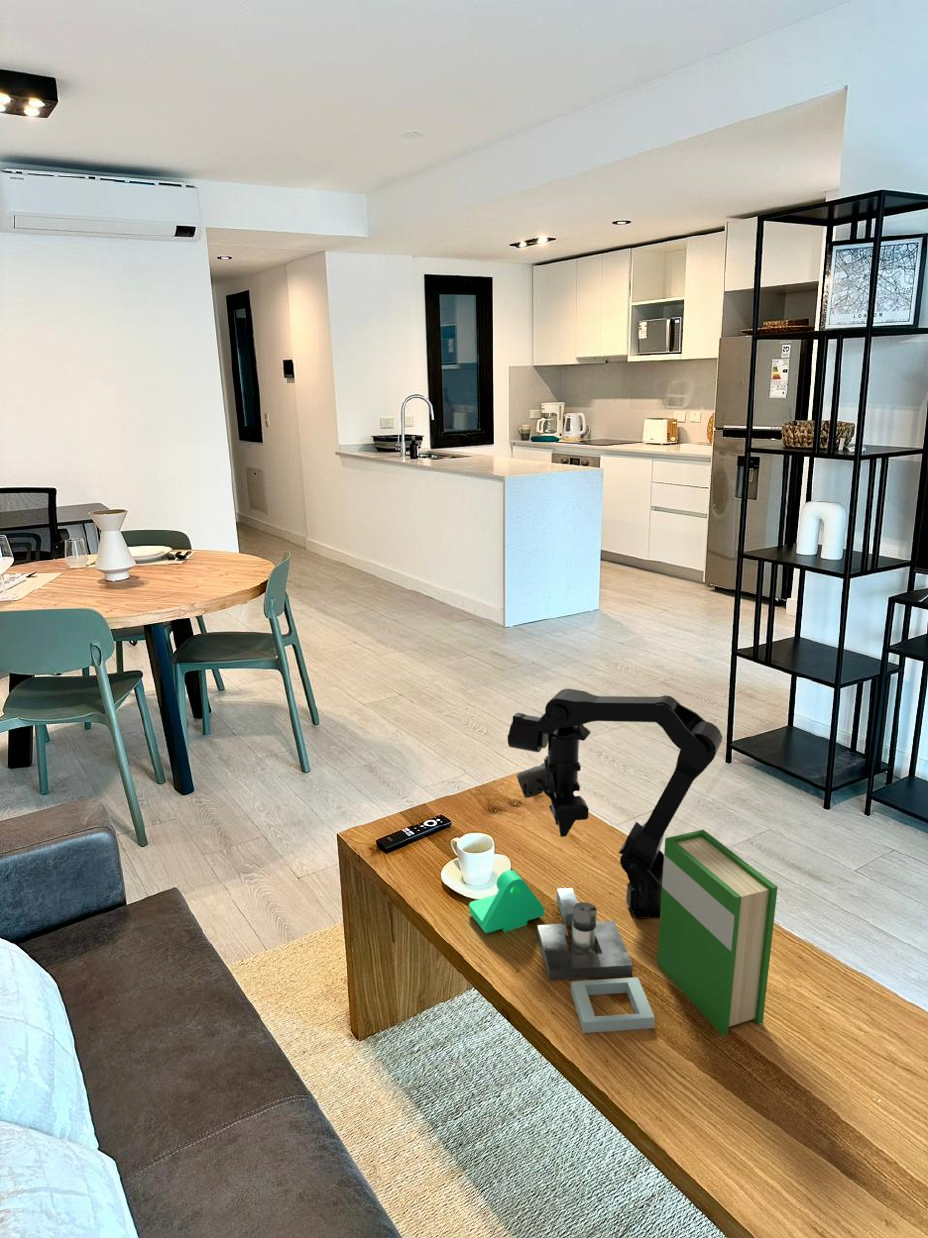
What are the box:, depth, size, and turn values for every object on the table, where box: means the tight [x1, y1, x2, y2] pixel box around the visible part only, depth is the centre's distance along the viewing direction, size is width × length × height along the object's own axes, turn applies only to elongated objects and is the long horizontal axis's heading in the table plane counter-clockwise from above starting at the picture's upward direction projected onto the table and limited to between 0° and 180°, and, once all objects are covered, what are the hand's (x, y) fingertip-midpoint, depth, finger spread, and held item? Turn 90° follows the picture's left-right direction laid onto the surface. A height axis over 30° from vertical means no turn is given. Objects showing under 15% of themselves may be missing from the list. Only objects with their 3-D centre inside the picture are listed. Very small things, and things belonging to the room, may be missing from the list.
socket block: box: [536, 920, 634, 981], centre depth 145 cm, size 14×12×2 cm
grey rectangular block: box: [556, 887, 579, 927], centre depth 157 cm, size 3×8×2 cm, turn 5°
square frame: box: [570, 976, 656, 1034], centre depth 132 cm, size 11×9×2 cm
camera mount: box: [468, 869, 545, 934], centre depth 154 cm, size 12×8×10 cm, turn 115°
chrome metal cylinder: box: [570, 901, 598, 956], centre depth 144 cm, size 4×4×9 cm
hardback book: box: [656, 829, 778, 1037], centre depth 133 cm, size 18×7×24 cm, turn 21°
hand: (560, 830), depth 162 cm, fingers open, 4 cm apart
